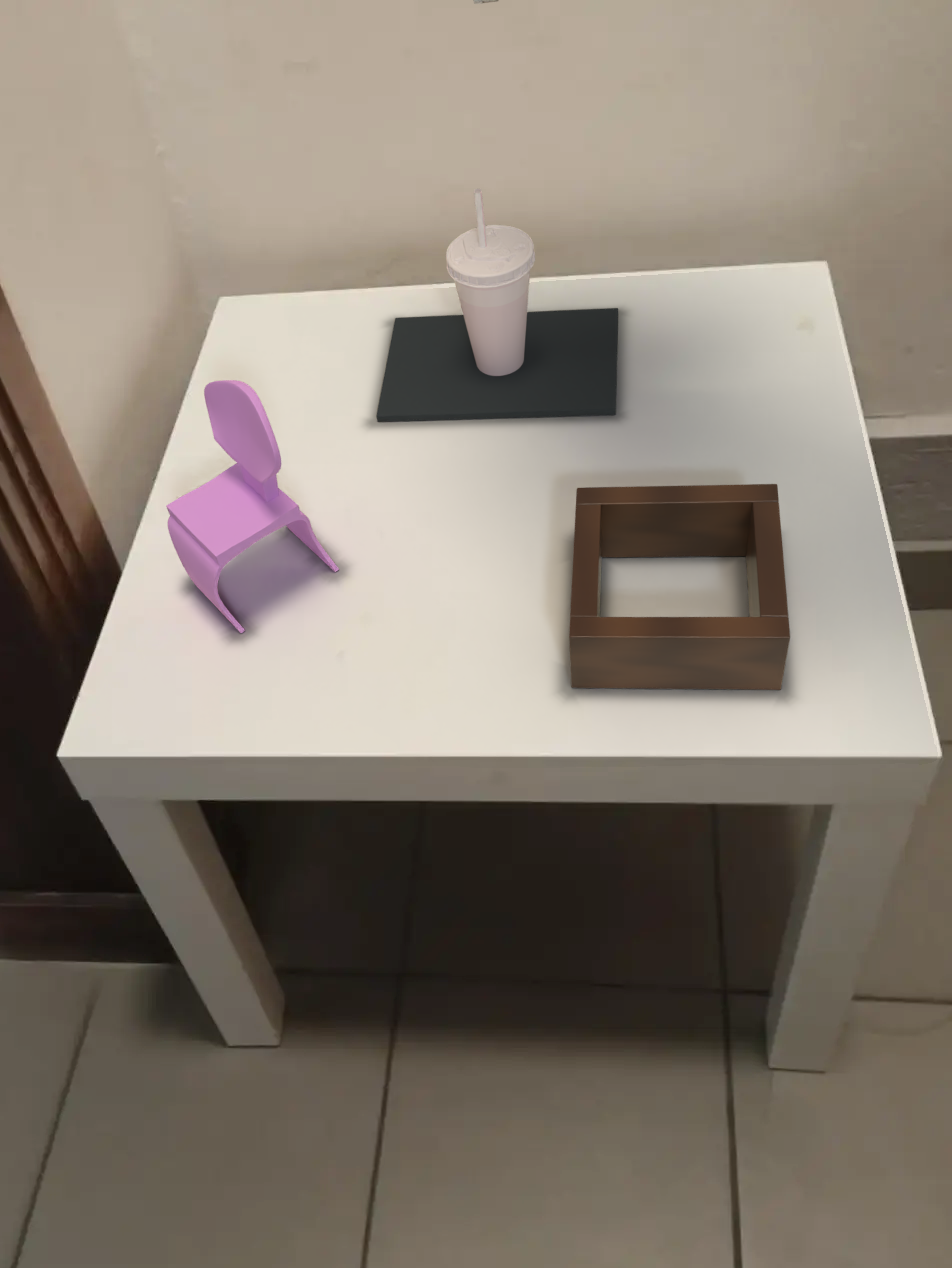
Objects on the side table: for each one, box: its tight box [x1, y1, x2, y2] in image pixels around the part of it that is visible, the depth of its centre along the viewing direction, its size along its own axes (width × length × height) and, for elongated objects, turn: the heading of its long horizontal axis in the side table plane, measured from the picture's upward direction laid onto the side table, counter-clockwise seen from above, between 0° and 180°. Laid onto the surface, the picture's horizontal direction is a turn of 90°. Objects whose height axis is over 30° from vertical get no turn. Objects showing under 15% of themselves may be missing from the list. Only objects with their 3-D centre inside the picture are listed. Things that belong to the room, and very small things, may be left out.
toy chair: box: [165, 379, 340, 634], centre depth 79 cm, size 8×9×15 cm
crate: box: [568, 483, 791, 691], centre depth 77 cm, size 13×13×5 cm
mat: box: [375, 307, 619, 423], centre depth 95 cm, size 18×12×1 cm, turn 84°
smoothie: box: [445, 188, 536, 376], centre depth 89 cm, size 6×6×14 cm
